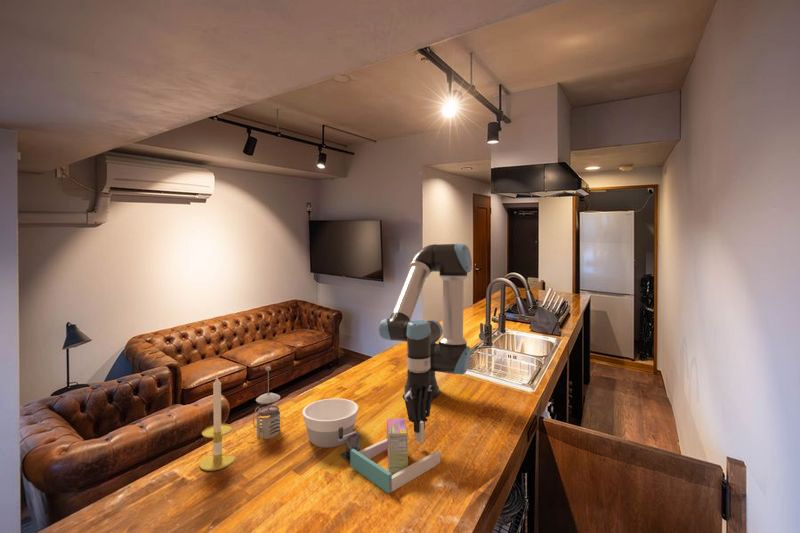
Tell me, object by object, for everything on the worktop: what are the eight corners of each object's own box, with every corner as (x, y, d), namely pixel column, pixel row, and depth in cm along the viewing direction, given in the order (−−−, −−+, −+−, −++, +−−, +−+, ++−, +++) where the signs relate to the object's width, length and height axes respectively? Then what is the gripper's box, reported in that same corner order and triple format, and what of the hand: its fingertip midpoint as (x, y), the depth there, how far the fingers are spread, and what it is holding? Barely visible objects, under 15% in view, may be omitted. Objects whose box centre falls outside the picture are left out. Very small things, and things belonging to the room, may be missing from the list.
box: (387, 454, 115) (386, 418, 115) (404, 454, 115) (404, 417, 115) (388, 474, 105) (388, 434, 104) (408, 473, 105) (408, 433, 105)
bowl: (309, 460, 112) (309, 425, 112) (297, 433, 129) (297, 404, 129) (367, 445, 121) (366, 413, 121) (348, 422, 138) (347, 394, 138)
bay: (350, 466, 108) (350, 450, 108) (401, 442, 123) (401, 427, 123) (388, 493, 96) (388, 475, 96) (440, 463, 110) (440, 447, 110)
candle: (231, 468, 107) (230, 379, 107) (194, 472, 105) (193, 381, 105) (238, 451, 117) (238, 369, 117) (205, 454, 115) (204, 371, 114)
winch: (333, 459, 112) (333, 425, 112) (355, 449, 118) (355, 417, 118) (344, 467, 108) (344, 432, 108) (366, 457, 114) (366, 423, 113)
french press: (288, 432, 130) (288, 364, 129) (267, 448, 119) (266, 373, 118) (266, 428, 133) (266, 361, 132) (243, 443, 122) (242, 370, 121)
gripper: (412, 377, 109) (413, 453, 110) (441, 367, 118) (441, 437, 119) (396, 371, 114) (397, 443, 115) (424, 362, 123) (424, 429, 124)
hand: (419, 440), depth 117 cm, fingers closed
